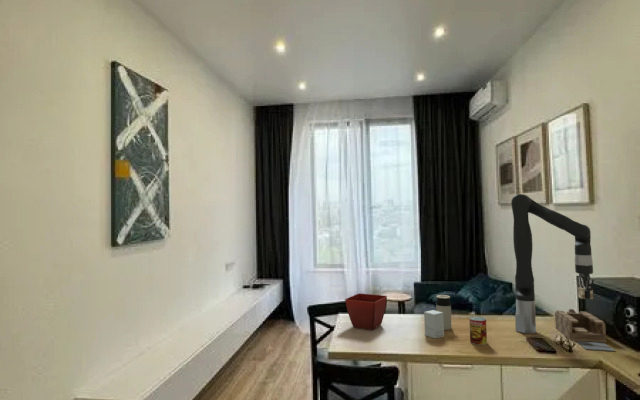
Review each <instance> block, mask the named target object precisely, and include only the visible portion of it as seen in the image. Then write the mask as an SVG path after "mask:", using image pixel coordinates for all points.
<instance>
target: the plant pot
mask: <svg viewBox="0 0 640 400" xmlns="http://www.w3.org/2000/svg"><path fill="white" fill-rule="evenodd" d="M387 297H388V296H387V295H381V294H373V293H372V294H370V293H356V294H354V295H351V296H349V297H347V298H345V299H344V302H345V305H346V310H347V313H348V317H349V320H350V322H351V325H352V326H353V328H354V327H356V329H361V328H362V330H369V331H370V330H371V331H374V330H375V329H377V328H378V327H380V326H381V325H382V323H383V319H384V316H385V312H386V306H387V299H388V298H387Z"/></svg>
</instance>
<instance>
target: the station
mask: <svg viewBox="0 0 640 400" xmlns="http://www.w3.org/2000/svg"><path fill="white" fill-rule="evenodd" d="M554 315H555V329H556V330H557V331H558V332H560V333H561V334H562V335H563V336H564V337H565V336H566V337H565V338H567V339H568V340H569V341H575V343H577V344H578V345H580V346H581V347H582V348H583V349H584V350H586V351H595V352H596V351H597V352H598V351H599V352H612V351H615V352H616V350H615V349H614V348H612V347H611V346H609V345H607V344H606V343H607V333H606V331H607V330H606V329H607V328H606V323H605V322H604V321H603V320H601V319H600V318H598V317H597V316H595V315H593V314H592V313H589V312H588V311H579V312H578V313H577V312H576V313H567V311H566V312H565V311H564V310H556V311H555V313H554ZM615 352H614V353H615Z"/></svg>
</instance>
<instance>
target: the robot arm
mask: <svg viewBox="0 0 640 400" xmlns="http://www.w3.org/2000/svg"><path fill="white" fill-rule="evenodd" d="M511 211H512V217H513V227H512V228H513V234H512V237H513V251H514V255H515V262H516V264H515V265H516V267H515V275H514V280H515V284H514V285H515V307H516V311H515V313H514V314H515V315H514V316H515V317H514V318H515V331H516V332H518V333H522V334H530V335H532V334H536V333H537V325H536V319H537V317H536V301H535V300H536V296H535V278H534V274H533V266H532V260H533V259H532V258H533V233H532V229H531V225H530V221H529V220H530V219H529V214H531V215H534V216H536V217H537V218H539V219H542V220H543V221H545V222H546V223H548V224H550V225H552V226H554V227H555V228H558V229H560V230H563V231H565V232H567V233H568V234H570V235H572V236H573V237H574V242H575V244H574V270H575V271H574V272H575V273H576V274H578V275H576V277H575V279H576V282H577V283H576V284H577V288H578V287H584V290H585V298H586V299H585V300H591V299H590V291H592V290H593V287H594V279H591V276H590V275H592V274H593V273H594V262H593V254H592V247H591V246H592V245H591V238H592V236H591V229H590V227H589V226H588V225H586V224H581V223H580V222H578V221H575V220H573V219H571V218H570V217H568V216H567V215H564V214H562V213H560V212H557V211H555V210H553V209H551V208H548V207H546V206H543V205H541V204H540V203H538V202H536V201H535V200H533V199H532V198H531V197H529V195H526V194H523V193H522V194H521V193H518V194H515V195H514V196H513V197H512V198H511ZM593 291H594V290H593Z"/></svg>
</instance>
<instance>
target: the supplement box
mask: <svg viewBox="0 0 640 400" xmlns="http://www.w3.org/2000/svg"><path fill="white" fill-rule="evenodd" d="M423 314H424V315H423V316H424V317H423V318H424V320H423V321H424V336H427V337H430V338H433V339H438V338H442V337H445V330H444V319H443V312H439V311H436V310H434V309H432V310H426V311H424V312H423Z"/></svg>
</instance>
